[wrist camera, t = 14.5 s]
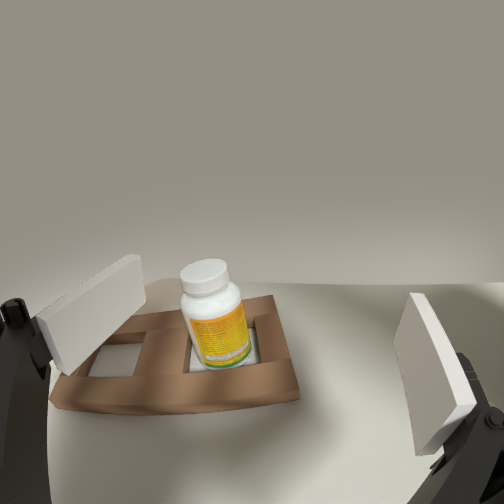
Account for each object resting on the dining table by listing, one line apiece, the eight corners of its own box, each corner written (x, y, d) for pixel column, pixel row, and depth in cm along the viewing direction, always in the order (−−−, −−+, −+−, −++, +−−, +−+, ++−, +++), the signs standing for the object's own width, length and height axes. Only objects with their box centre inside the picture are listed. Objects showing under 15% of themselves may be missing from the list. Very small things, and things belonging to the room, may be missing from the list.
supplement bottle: (189, 355, 27) (160, 273, 23) (229, 330, 30) (210, 249, 26) (221, 382, 23) (192, 294, 19) (264, 351, 26) (248, 263, 22)
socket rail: (273, 305, 33) (272, 294, 32) (299, 398, 20) (298, 388, 19) (95, 329, 32) (90, 320, 32) (56, 408, 20) (48, 398, 19)
